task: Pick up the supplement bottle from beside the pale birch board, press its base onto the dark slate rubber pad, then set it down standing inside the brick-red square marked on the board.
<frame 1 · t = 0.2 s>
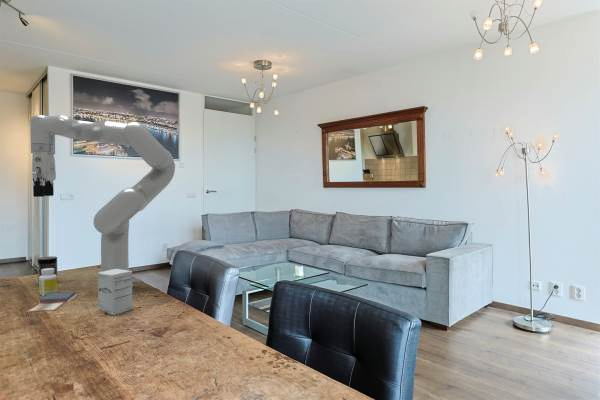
hand: (43, 196, 143), 36 cm above the table, tool pointing down, fingers open, 9 cm apart
supplement container: (48, 283, 157), on the table
supplement box: (115, 311, 123), on the table
ink pad: (58, 298, 133), on the table
stamping board: (52, 305, 128), on the table
supplement bottle: (48, 296, 139), on the table
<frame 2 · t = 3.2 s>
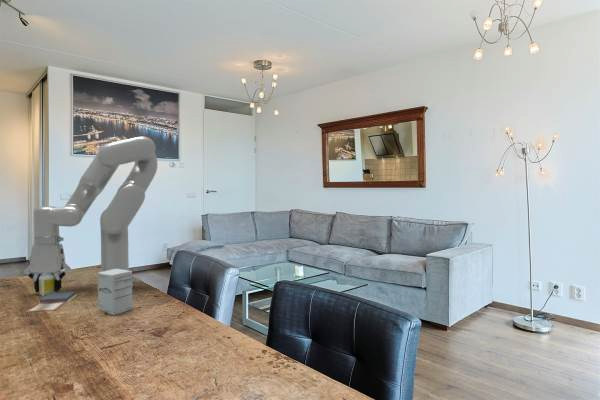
hand: (48, 290, 139), 2 cm above the table, tool pointing down, fingers closed on supplement bottle, 5 cm apart
supplement bottle: (48, 296, 139), on the table, touching gripper
everything else where it was.
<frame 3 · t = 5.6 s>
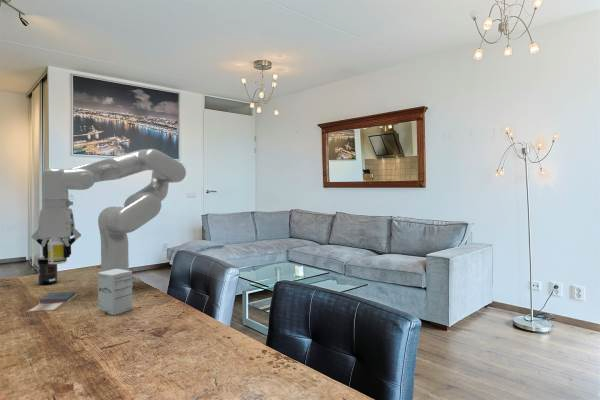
hand: (57, 257, 132), 15 cm above the table, tool pointing down, fingers closed on supplement bottle, 5 cm apart
supplement bottle: (57, 263, 133), point 13 cm above the table, touching gripper
everything else where it was.
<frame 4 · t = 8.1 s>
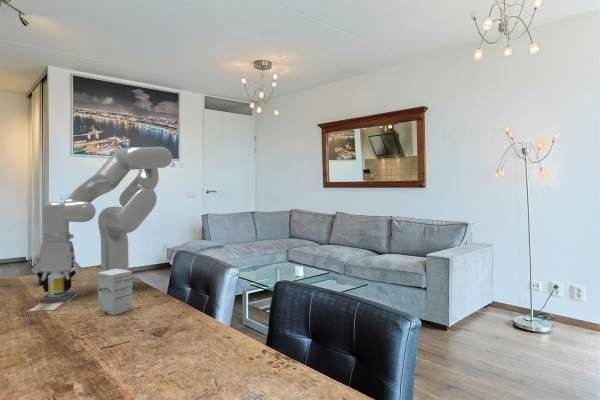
hand: (57, 290, 133), 4 cm above the table, tool pointing down, fingers closed on supplement bottle, 5 cm apart
supplement bottle: (57, 296, 133), point 2 cm above the table, touching gripper, ink pad
everything else where it was.
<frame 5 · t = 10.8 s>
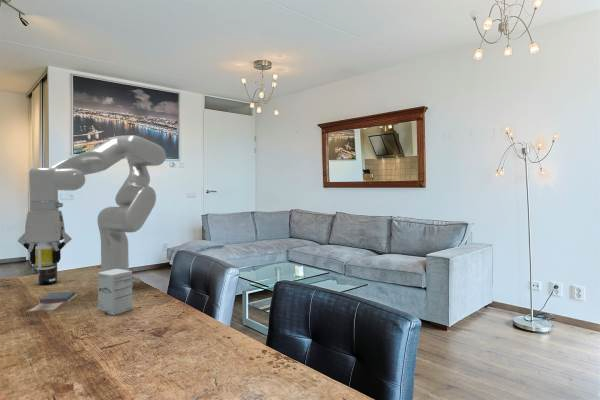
hand: (45, 262, 124), 15 cm above the table, tool pointing down, fingers closed on supplement bottle, 5 cm apart
supplement bottle: (45, 269, 124), point 13 cm above the table, touching gripper
everything else where it was.
when the fingers open (4 cm above the table, at t = 13.2 s): supplement bottle drops 1 cm, resting on stamping board.
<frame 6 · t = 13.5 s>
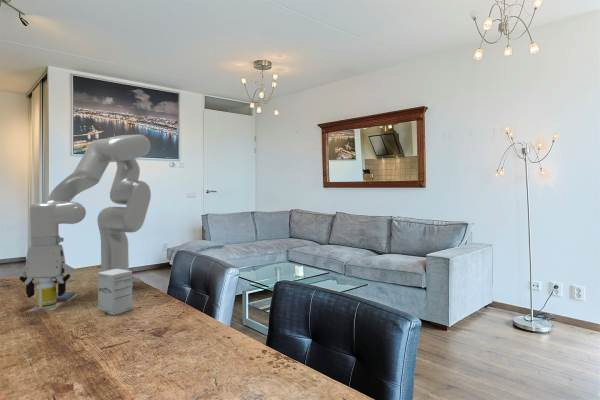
hand: (46, 295, 124), 5 cm above the table, tool pointing down, fingers open, 8 cm apart
supplement bottle: (46, 307, 124), point 1 cm above the table, touching stamping board
everything else where it was.
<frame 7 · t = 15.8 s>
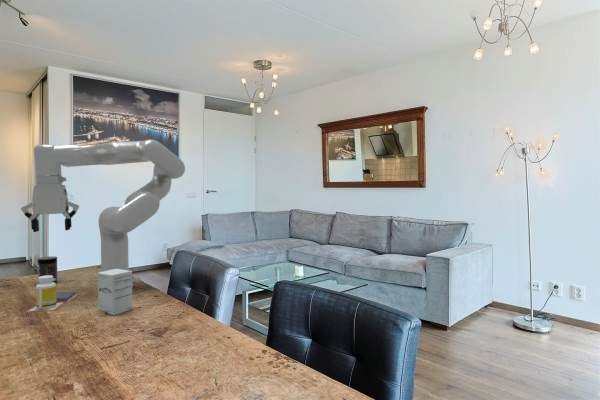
hand: (52, 230, 134), 24 cm above the table, tool pointing down, fingers open, 9 cm apart
nothing on the table moved.
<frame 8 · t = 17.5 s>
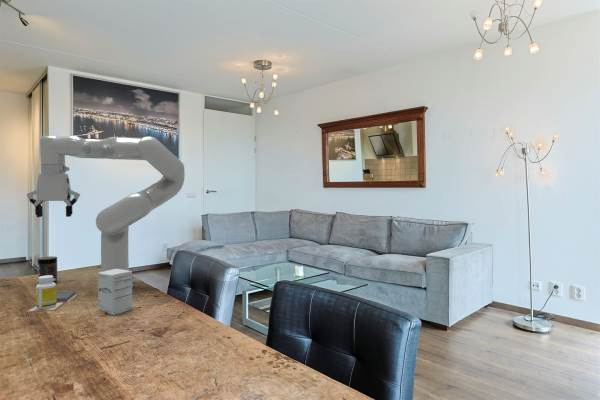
hand: (54, 216, 142), 28 cm above the table, tool pointing down, fingers open, 9 cm apart
nothing on the table moved.
at the end: supplement bottle 0.1 cm from the target spot on the stamping board, point 0.6 cm above the stamping board's base; supplement bottle tilted 0°; the gripper is holding nothing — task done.
